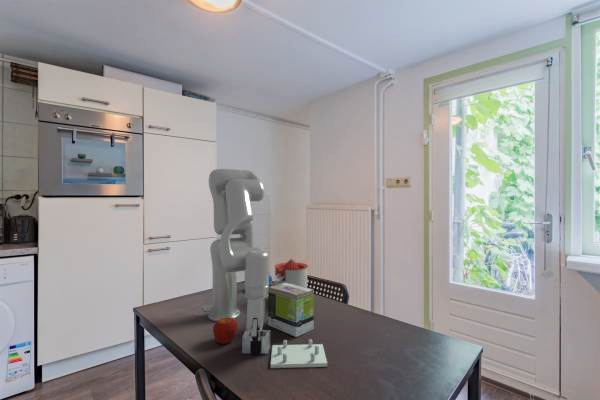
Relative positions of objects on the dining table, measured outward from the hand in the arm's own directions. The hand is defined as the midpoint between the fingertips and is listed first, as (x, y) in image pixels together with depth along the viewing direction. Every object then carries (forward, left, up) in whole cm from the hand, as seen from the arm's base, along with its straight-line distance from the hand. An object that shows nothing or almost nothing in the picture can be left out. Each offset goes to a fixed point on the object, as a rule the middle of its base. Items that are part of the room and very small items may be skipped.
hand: (256, 347), depth 92 cm
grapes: (-3, +61, -1) cm, 61 cm away
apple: (-11, +6, -1) cm, 13 cm away
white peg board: (+13, -5, -1) cm, 14 cm away
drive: (0, 0, -1) cm, 1 cm away
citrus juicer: (+11, +43, -1) cm, 44 cm away
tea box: (+11, +16, -1) cm, 19 cm away
